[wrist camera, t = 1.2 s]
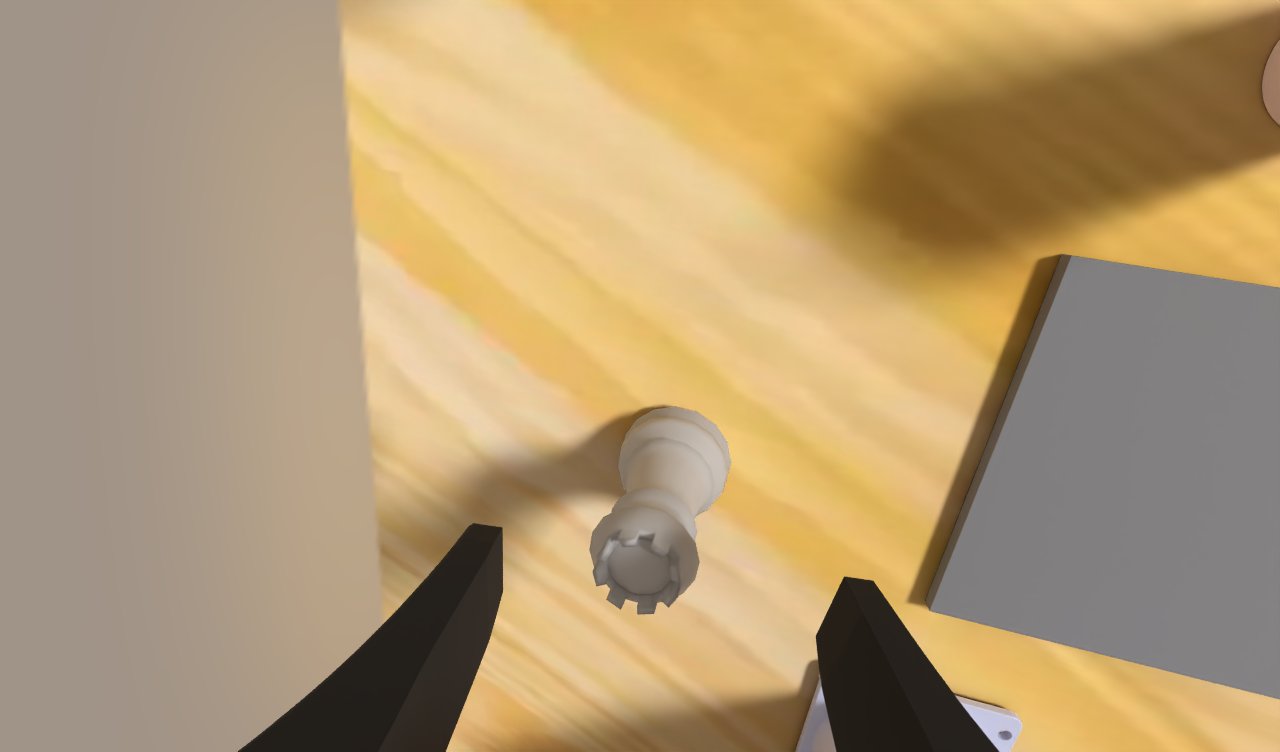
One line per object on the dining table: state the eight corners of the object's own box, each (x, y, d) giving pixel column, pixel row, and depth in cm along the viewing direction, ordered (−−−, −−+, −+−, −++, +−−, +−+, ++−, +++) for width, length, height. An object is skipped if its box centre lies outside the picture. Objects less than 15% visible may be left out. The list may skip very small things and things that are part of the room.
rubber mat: (1321, 699, 20) (1337, 713, 20) (925, 600, 22) (929, 610, 22) (1593, 336, 16) (1623, 341, 15) (1061, 254, 18) (1071, 255, 17)
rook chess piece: (733, 405, 21) (720, 513, 14) (730, 505, 23) (715, 653, 15) (622, 399, 22) (554, 497, 15) (625, 496, 24) (564, 631, 16)
